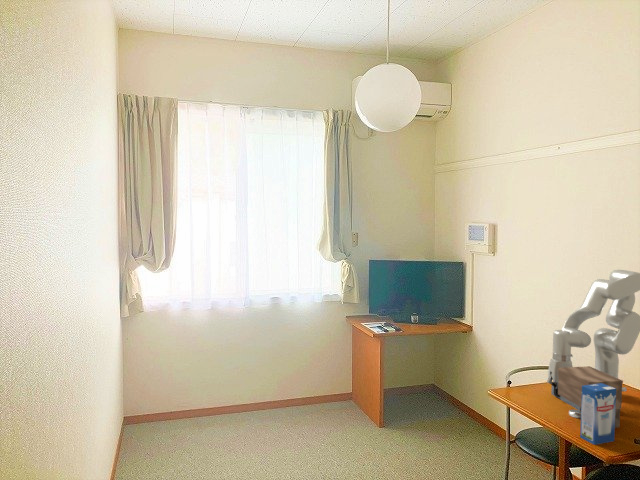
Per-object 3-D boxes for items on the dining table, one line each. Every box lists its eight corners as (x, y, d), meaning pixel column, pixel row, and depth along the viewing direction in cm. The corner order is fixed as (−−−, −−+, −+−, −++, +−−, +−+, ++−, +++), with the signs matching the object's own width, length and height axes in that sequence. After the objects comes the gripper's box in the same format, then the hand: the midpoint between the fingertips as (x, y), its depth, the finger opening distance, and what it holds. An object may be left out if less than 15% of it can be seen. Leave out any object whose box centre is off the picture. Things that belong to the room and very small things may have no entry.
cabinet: (588, 409, 210) (589, 366, 209) (621, 427, 192) (622, 380, 191) (556, 411, 207) (558, 367, 207) (587, 429, 189) (589, 382, 188)
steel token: (578, 412, 207) (578, 409, 206) (588, 418, 201) (588, 414, 201) (565, 413, 206) (565, 409, 206) (575, 419, 200) (575, 415, 200)
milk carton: (600, 433, 186) (601, 383, 185) (614, 441, 180) (616, 388, 179) (580, 437, 183) (581, 385, 182) (594, 444, 177) (595, 391, 176)
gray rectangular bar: (557, 393, 228) (557, 385, 228) (586, 410, 208) (586, 401, 208) (551, 394, 228) (551, 385, 228) (579, 411, 208) (580, 402, 208)
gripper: (572, 354, 228) (570, 392, 228) (540, 355, 225) (539, 393, 226) (583, 358, 220) (581, 398, 221) (550, 360, 218) (549, 399, 219)
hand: (560, 395), depth 224 cm, fingers closed on gray rectangular bar, 3 cm apart
